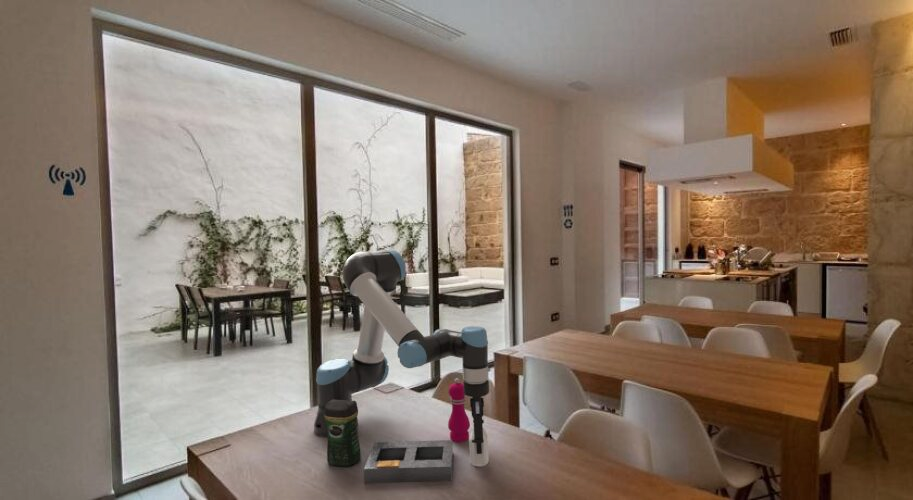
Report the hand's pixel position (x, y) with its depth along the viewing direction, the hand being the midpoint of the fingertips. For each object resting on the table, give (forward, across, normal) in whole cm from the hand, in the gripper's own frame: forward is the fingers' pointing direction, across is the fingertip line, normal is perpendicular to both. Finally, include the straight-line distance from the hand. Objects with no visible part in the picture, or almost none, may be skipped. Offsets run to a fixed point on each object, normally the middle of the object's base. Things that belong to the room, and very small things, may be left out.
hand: (478, 454), depth 138 cm
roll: (+3, 0, 0) cm, 3 cm away
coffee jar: (+2, +3, +41) cm, 41 cm away
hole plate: (+2, -2, +20) cm, 20 cm away
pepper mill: (+2, +16, +6) cm, 17 cm away
